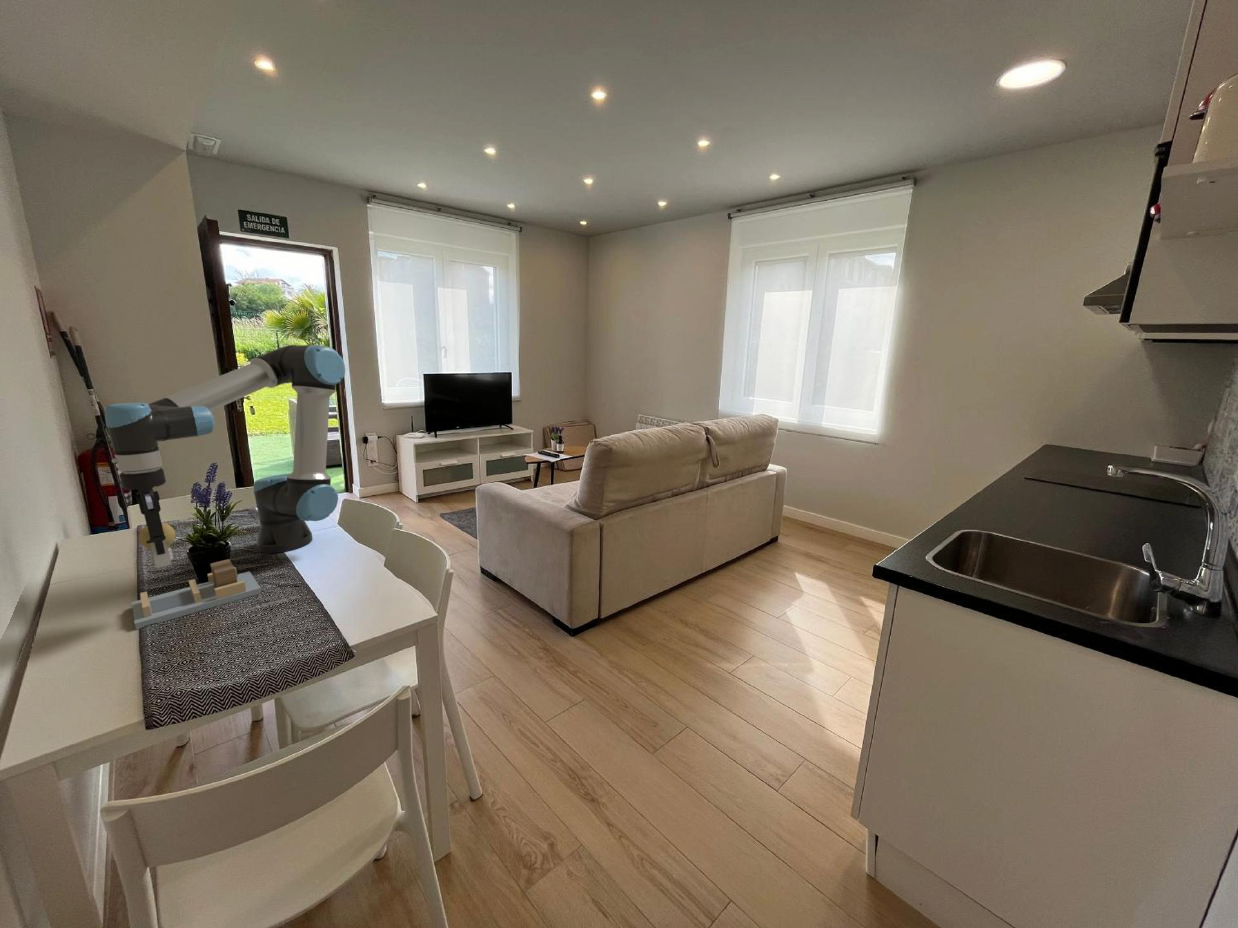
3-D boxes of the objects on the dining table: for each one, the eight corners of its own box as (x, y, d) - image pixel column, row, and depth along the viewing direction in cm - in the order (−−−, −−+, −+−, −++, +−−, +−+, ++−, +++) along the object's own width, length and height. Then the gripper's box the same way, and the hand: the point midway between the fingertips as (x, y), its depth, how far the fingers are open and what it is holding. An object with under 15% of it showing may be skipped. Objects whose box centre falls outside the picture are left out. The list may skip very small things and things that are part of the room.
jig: (133, 607, 123) (129, 592, 122) (250, 576, 139) (248, 563, 138) (136, 629, 113) (132, 613, 112) (261, 592, 130) (258, 579, 129)
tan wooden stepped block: (214, 584, 131) (210, 563, 130) (233, 579, 134) (229, 559, 132) (219, 594, 126) (215, 573, 124) (238, 589, 128) (234, 568, 127)
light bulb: (147, 570, 116) (137, 530, 113) (144, 562, 120) (134, 524, 117) (182, 561, 120) (174, 523, 118) (179, 554, 124) (170, 517, 122)
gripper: (117, 465, 118) (139, 554, 124) (119, 480, 105) (143, 579, 111) (159, 460, 124) (178, 546, 129) (166, 474, 110) (187, 568, 116)
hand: (162, 561), depth 120 cm, fingers closed on light bulb, 6 cm apart
